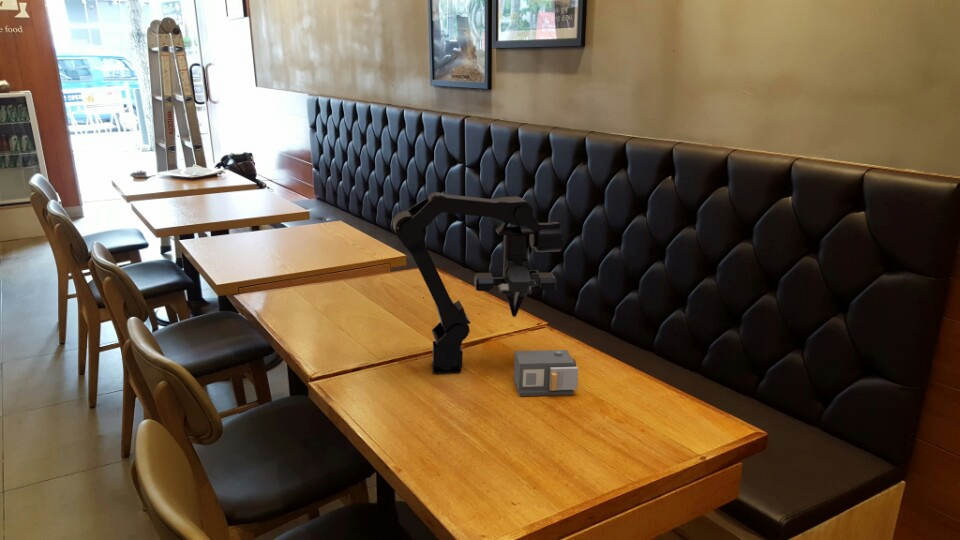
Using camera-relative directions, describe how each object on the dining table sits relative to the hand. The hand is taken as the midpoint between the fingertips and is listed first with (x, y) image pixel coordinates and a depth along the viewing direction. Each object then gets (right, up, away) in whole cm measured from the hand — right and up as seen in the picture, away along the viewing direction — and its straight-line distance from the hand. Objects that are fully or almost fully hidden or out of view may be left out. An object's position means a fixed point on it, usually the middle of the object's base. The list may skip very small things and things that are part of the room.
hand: (513, 316), depth 160 cm
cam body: (+6, -15, -8) cm, 18 cm away
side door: (+10, -15, -13) cm, 22 cm away
